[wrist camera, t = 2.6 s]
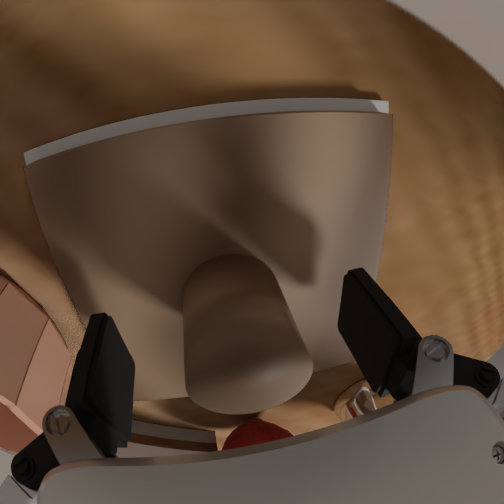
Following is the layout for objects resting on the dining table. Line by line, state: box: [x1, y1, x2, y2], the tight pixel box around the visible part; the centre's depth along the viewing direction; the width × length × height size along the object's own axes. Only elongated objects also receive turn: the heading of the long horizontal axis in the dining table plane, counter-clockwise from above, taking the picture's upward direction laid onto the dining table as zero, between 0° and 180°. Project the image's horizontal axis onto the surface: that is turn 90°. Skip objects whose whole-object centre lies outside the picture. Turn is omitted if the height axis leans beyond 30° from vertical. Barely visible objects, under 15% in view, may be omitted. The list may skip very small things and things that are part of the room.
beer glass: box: [334, 378, 394, 422], centre depth 16 cm, size 7×7×15 cm
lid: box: [23, 110, 393, 414], centre depth 11 cm, size 14×14×6 cm
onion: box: [222, 417, 293, 450], centre depth 17 cm, size 6×6×8 cm
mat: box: [23, 98, 388, 166], centre depth 13 cm, size 15×15×1 cm
